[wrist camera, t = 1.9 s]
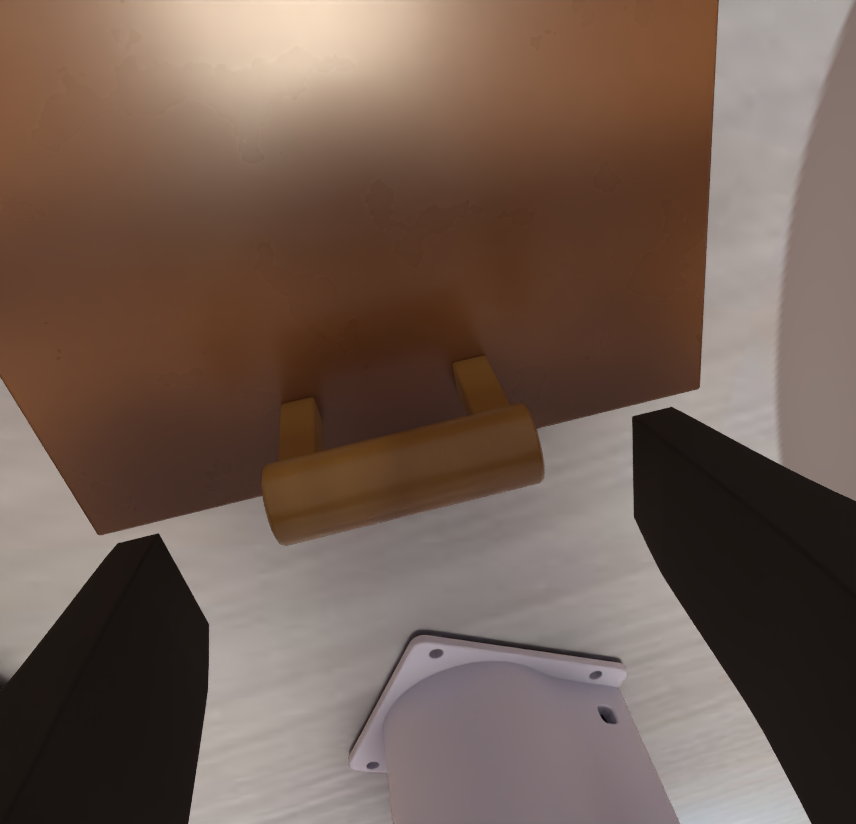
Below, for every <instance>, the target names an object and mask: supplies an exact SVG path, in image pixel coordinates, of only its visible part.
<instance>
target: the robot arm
mask: <svg viewBox="0 0 856 824" xmlns="http://www.w3.org/2000/svg"><path fill="white" fill-rule="evenodd" d="M632 429H633V489H634V518H635V520H636V522H637V525H638V527H639V529H640V531H641V533H642V535H643V537H644V539H645V541H646V544H647V546H648V548H649V550H650V552H651V554H652V556H653V558H654V560H655V562H656V564H657V566H658V568H659V570H660V572H661V574H662V575H663V577H664V578H665V580H666V582H667V583H668V585H669V586H670V588H671V589H672V591H673V592H674V594H675V596H676V597H677V599H678V600H679V602H680V603H681V605H682V606H683V608H684V609H685V611H686V612H687V614H688V616H689V617H690V619H691V620H692V622H693V623H694V625H695V626H696V628H697V629H698V631H699V632H700V634H701V635H702V637H703V638H704V640H705V641H706V643H707V644H708V646H709V647H710V649H711V650H712V652H713V653H714V655H715V656H716V658H717V660H718V661H719V663H720V664H721V666H722V667H723V669H724V670H725V672H726V673H727V675H728V676H729V678H730V679H731V681H732V682H733V684H734V685H735V687H736V688H737V690H738V691H739V693H740V694H741V696H742V697H743V699H744V700H745V702H746V704H747V705H748V707H749V709H750V710H751V712H752V714H753V715H754V717H755V719H756V720H757V722H758V724H759V725H760V727H761V729H762V730H763V732H764V734H765V736H766V738H767V739H768V741H769V743H770V745H771V747H772V749H773V751H774V753H775V755H776V756H777V758H778V760H779V762H780V764H781V766H782V768H783V770H784V771H785V773H786V775H787V777H788V779H789V781H790V783H791V785H792V787H793V788H794V790H795V792H796V794H797V796H798V798H799V800H800V802H801V804H802V806H803V808H804V810H805V812H806V813H807V815H808V817H809V819H810V821H811V823H812V824H856V501H854V500H852V499H850V498H848V497H845V496H843V495H841V494H839V493H836V492H834V491H832V490H830V489H828V488H826V487H824V486H822V485H820V484H818V483H816V482H814V481H812V480H809V479H807V478H805V477H803V476H801V475H799V474H797V473H795V472H793V471H791V470H790V469H787V468H786V467H784V466H782V465H780V464H778V463H776V462H774V461H772V460H770V459H768V458H766V457H764V456H763V455H761V454H759V453H757V452H755V451H753V450H751V449H749V448H748V447H746V446H744V445H742V444H740V443H738V442H736V441H735V440H733V439H731V438H729V437H727V436H725V435H723V434H722V433H720V432H718V431H716V430H714V429H712V428H711V427H709V426H707V425H705V424H703V423H701V422H700V421H698V420H696V419H694V418H692V417H690V416H688V415H686V414H685V413H683V412H681V411H679V410H677V409H675V408H673V407H669V408H665V409H661V410H657V411H653V412H649V413H645V414H641V415H637V416H633V417H632ZM434 649H435V650H434ZM208 669H209V624H208V622H207V620H206V618H205V616H204V614H203V613H202V611H201V609H200V607H199V605H198V604H197V602H196V600H195V598H194V596H193V595H192V593H191V591H190V589H189V587H188V586H187V584H186V582H185V580H184V578H183V576H182V575H181V573H180V571H179V569H178V567H177V566H176V564H175V562H174V560H173V558H172V557H171V555H170V553H169V551H168V549H167V548H166V546H165V544H164V542H163V540H162V538H161V537H160V535H159V533H158V534H154V535H150V536H146V537H142V538H138V539H134V540H130V541H126V542H122V543H118V544H117V545H116V546H115V547H114V548H113V550H112V551H111V552H110V553H109V554H108V555H107V557H106V558H105V559H104V560H103V562H102V563H101V564H100V565H99V567H98V568H97V569H96V571H95V572H94V573H93V574H92V576H91V577H90V578H89V580H88V581H87V582H86V583H85V585H84V586H83V587H82V589H81V590H80V591H79V593H78V594H77V595H76V597H75V598H74V599H73V600H72V602H71V603H70V604H69V606H68V607H67V608H66V610H65V611H64V612H63V613H62V615H61V616H60V617H59V619H58V620H57V621H56V622H55V624H54V625H53V626H52V628H51V629H50V630H49V631H48V633H47V634H46V635H45V636H44V638H43V639H42V640H41V642H40V643H39V644H38V645H37V647H36V648H35V649H34V650H33V652H32V653H31V654H30V656H29V657H28V658H27V659H26V661H25V662H24V663H23V664H22V666H21V667H20V668H19V669H18V671H17V672H16V673H15V674H14V675H13V677H12V678H11V679H10V680H9V681H8V683H7V684H6V685H5V686H4V687H3V688H2V690H1V691H0V824H188V821H189V815H190V808H191V802H192V795H193V788H194V782H195V775H196V769H197V762H198V755H199V749H200V742H201V735H202V728H203V721H204V714H205V707H206V700H207V692H208ZM627 676H628V673H627V670H626V668H625V666H624V665H623V664H621V663H618V662H611V661H604V660H597V659H590V658H583V657H576V656H569V655H562V654H555V653H548V652H541V651H534V650H527V649H520V648H513V647H506V646H499V645H492V644H485V643H479V642H472V641H465V640H458V639H451V638H444V637H437V636H430V635H420V636H417V637H415V638H414V639H412V640H411V642H410V643H409V645H408V647H407V649H406V650H405V652H404V654H403V656H402V658H401V660H400V662H399V664H398V665H397V667H396V669H395V671H394V673H393V675H392V677H391V679H390V680H389V682H388V684H387V686H386V688H385V690H384V692H383V693H382V695H381V697H380V699H379V701H378V703H377V705H376V707H375V708H374V710H373V712H372V714H371V716H370V718H369V720H368V722H367V723H366V725H365V727H364V729H363V731H362V733H361V735H360V736H359V738H358V740H357V742H356V744H355V746H354V748H353V750H352V751H351V753H350V755H349V766H350V768H351V769H353V770H355V771H363V772H377V773H387V775H388V784H389V793H390V802H391V811H392V820H393V824H680V823H679V820H678V818H677V816H676V813H675V811H674V809H673V807H672V805H671V802H670V800H669V798H668V796H667V794H666V791H665V789H664V787H663V785H662V783H661V780H660V778H659V776H658V774H657V772H656V769H655V767H654V765H653V763H652V761H651V758H650V756H649V754H648V752H647V749H646V747H645V745H644V743H643V741H642V738H641V736H640V734H639V732H638V730H637V727H636V725H635V723H634V721H633V719H632V716H631V714H630V712H629V710H628V708H627V705H626V703H625V701H624V699H623V697H622V694H621V692H620V690H619V687H620V686H621V685H622V683H623V682H624V681H625V679H626V677H627Z"/></svg>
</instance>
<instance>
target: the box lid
mask: <svg viewBox="0 0 856 824" xmlns="http://www.w3.org/2000/svg"><path fill="white" fill-rule="evenodd" d="M718 3H719V0H0V377H1V379H2V380H3V382H4V384H5V385H6V387H7V388H8V390H9V392H10V393H11V395H12V397H13V398H14V400H15V401H16V403H17V405H18V406H19V408H20V409H21V411H22V413H23V414H24V416H25V418H26V419H27V421H28V422H29V424H30V426H31V427H32V429H33V431H34V432H35V434H36V435H37V437H38V439H39V440H40V442H41V443H42V445H43V447H44V448H45V450H46V452H47V453H48V455H49V456H50V458H51V460H52V461H53V463H54V464H55V466H56V468H57V469H58V471H59V473H60V474H61V476H62V477H63V479H64V481H65V482H66V484H67V486H68V487H69V489H70V490H71V492H72V494H73V495H74V497H75V498H76V500H77V502H78V503H79V505H80V507H81V508H82V510H83V511H84V513H85V515H86V516H87V518H88V520H89V521H90V523H91V524H92V526H93V528H94V529H95V531H96V532H97V534H98V535H104V534H108V533H112V532H116V531H121V530H125V529H129V528H133V527H137V526H141V525H145V524H149V523H153V522H157V521H161V520H165V519H170V518H174V517H178V516H182V515H186V514H190V513H194V512H198V511H202V510H206V509H210V508H214V507H219V506H223V505H227V504H231V503H235V502H239V501H243V500H247V499H251V498H255V497H259V496H263V501H264V506H265V511H266V515H267V518H268V521H269V524H270V527H271V530H272V532H273V534H274V536H275V538H276V539H277V541H278V542H279V544H281V545H284V546H288V545H292V544H296V543H300V542H304V541H308V540H312V539H316V538H320V537H324V536H328V535H332V534H336V533H340V532H344V531H348V530H352V529H356V528H361V527H365V526H369V525H373V524H377V523H381V522H385V521H389V520H393V519H397V518H401V517H405V516H409V515H413V514H417V513H421V512H425V511H429V510H433V509H437V508H441V507H445V506H449V505H453V504H457V503H461V502H465V501H469V500H473V499H478V498H482V497H486V496H490V495H494V494H498V493H502V492H506V491H510V490H514V489H518V488H522V487H526V486H530V485H534V484H538V483H540V482H542V481H543V479H544V459H543V453H542V448H541V444H540V440H539V436H538V433H537V428H541V427H545V426H549V425H553V424H558V423H562V422H566V421H570V420H574V419H578V418H582V417H586V416H590V415H594V414H598V413H602V412H607V411H611V410H615V409H619V408H623V407H627V406H631V405H635V404H639V403H643V402H647V401H652V400H656V399H660V398H664V397H668V396H672V395H676V394H680V393H684V392H688V391H692V390H696V389H699V387H700V371H701V350H702V330H703V310H704V289H705V269H706V248H707V228H708V207H709V187H710V166H711V146H712V126H713V105H714V85H715V64H716V44H717V23H718Z"/></svg>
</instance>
